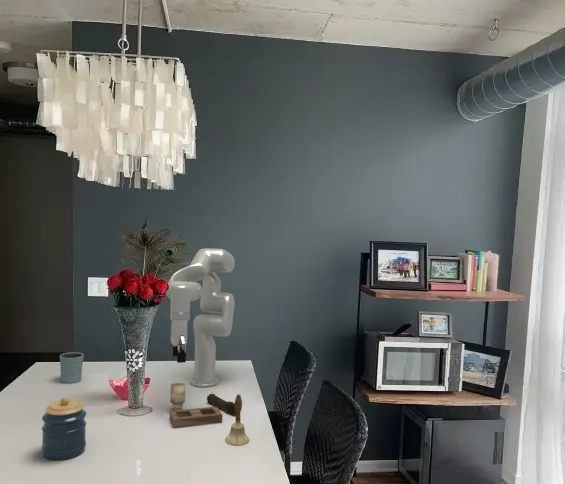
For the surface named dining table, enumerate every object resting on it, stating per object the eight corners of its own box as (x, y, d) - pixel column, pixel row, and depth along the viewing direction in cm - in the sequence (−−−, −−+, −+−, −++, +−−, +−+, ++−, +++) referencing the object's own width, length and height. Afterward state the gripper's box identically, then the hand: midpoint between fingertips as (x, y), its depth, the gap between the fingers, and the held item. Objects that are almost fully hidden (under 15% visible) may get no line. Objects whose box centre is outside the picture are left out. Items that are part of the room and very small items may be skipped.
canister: (63, 440, 173) (64, 388, 173) (94, 447, 169) (95, 393, 168) (32, 456, 161) (32, 400, 160) (64, 464, 156) (65, 406, 156)
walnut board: (169, 419, 194) (169, 411, 194) (216, 413, 201) (216, 406, 201) (173, 428, 186) (173, 419, 186) (222, 422, 192) (222, 414, 192)
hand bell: (253, 442, 176) (254, 396, 175) (231, 447, 172) (232, 400, 171) (243, 433, 183) (244, 389, 182) (221, 438, 179) (222, 392, 178)
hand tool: (206, 403, 212) (206, 392, 212) (214, 401, 215) (215, 390, 214) (230, 418, 197) (230, 407, 197) (239, 416, 200) (239, 404, 199)
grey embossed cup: (65, 377, 240) (66, 351, 240) (87, 378, 240) (87, 352, 239) (55, 383, 230) (55, 357, 230) (77, 385, 230) (78, 358, 229)
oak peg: (169, 408, 205) (169, 383, 205) (183, 406, 208) (184, 382, 207) (171, 413, 200) (172, 387, 200) (186, 411, 202) (186, 386, 202)
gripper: (166, 312, 209) (165, 354, 210) (174, 320, 193) (173, 365, 193) (185, 311, 212) (184, 353, 212) (194, 319, 196) (193, 364, 196)
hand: (179, 359), depth 203 cm, fingers open, 9 cm apart
